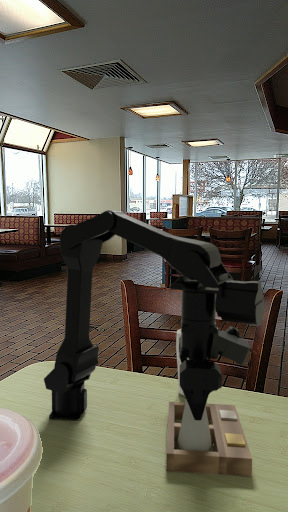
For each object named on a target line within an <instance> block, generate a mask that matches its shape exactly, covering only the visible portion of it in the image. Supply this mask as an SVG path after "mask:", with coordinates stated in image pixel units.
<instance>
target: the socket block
mask: <svg viewBox="0 0 288 512" xmlns="http://www.w3.org/2000/svg"><path fill="white" fill-rule="evenodd" d="M185 402H186V401H168V409H167V410H168V411H167V433H166V434H167V435H166V436H167V437H166V438H167V439H166V463H165V464H166V466H165V467H166V468H165V469H166V470H165V471H167V472H178V473H190V474H191V473H193V474H206V475H221V476H222V475H223V476H237V477H250V478H251V477H252V476H253V475H252V474H253V473H252V471H253V457H252V453H251V451H250V447H249V445H248V442H247V438H246V436H245V433H244V429H243V427H242V426H243V425H242V423H241V419H240V417H239V414H238V413H239V412H238V410H237V408H236V405H235V404H225V403H222V404H221V403H206V412H207V418H208V422H209V430H210V436H211V445H213V449H214V451H209V452H208V451H191V450H180V449H175V443H178V437H179V432H180V427H181V422H175V420H182V417H183V412H184V407H185Z"/></svg>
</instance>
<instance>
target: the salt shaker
mask: <svg viewBox="0 0 288 512" xmlns="http://www.w3.org/2000/svg"><path fill="white" fill-rule="evenodd" d="M184 402H185V407H184V412H183V417H182V419H181V422H180V423H181V427H180V432H179V437H178V442H177V444H178V448H179V450H191V451H208V452H211V447H212V444H211V436H210V430H209V425H210V423H209V420H208V418H207V412H206V406H205V409H204V413H203V416H202V420H200V421H199V420H194V417H193V415H192V412H191V410H190V407H189V405H188V402H187V400H186V399H185V401H184Z"/></svg>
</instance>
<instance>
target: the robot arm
mask: <svg viewBox="0 0 288 512" xmlns="http://www.w3.org/2000/svg"><path fill="white" fill-rule="evenodd" d="M59 234H60V235H59V248H60V256H61V259H62V261H63V262H64V265H65V267H66V269H67V274H66V275H67V281H66V298H65V299H66V301H65V302H66V303H65V321H64V339H63V340H62V342H61V344H60V346H59V348H58V349H57V352H56V355H55V356H56V357H55V360H54V361H55V362H54V366H53V367H54V368H53V369H52V370H51V371H50V372H48V374H47V375H46V376H45V377H44V378H43V382H44V386H45V389H46V390H49V391H51V412H50V413H49V415H48V417H49V418H48V419H53V420H67V421H68V420H71V421H79V420H81V418H82V416H83V414H84V413H85V412H86V410H87V407H88V389H87V388H85V381H89V380H90V378H91V375H92V373H93V372H94V371H95V370H96V368H97V366H98V365H99V364H100V363H99V360H98V359H99V357H98V355H99V350H100V349H99V348H100V347H99V346H98V345H94V344H93V343H92V341H91V338H90V323H91V307H92V306H91V303H92V288H93V287H92V285H93V284H92V283H93V270H94V268H95V266H96V263H97V262H98V260H99V259H100V256H101V252H102V247H103V244H105V243H106V242H108V241H110V240H112V239H113V238H114V237H115V236H117V237H119V238H122V239H124V240H125V241H128V242H130V243H133V244H135V245H136V246H138V247H141V248H142V249H145V250H147V251H149V252H151V253H153V254H155V255H157V256H159V257H161V258H163V260H165V262H166V263H167V264H168V265H169V266H170V267H171V268H172V269H174V270H175V271H176V272H178V273H179V274H181V275H179V276H178V277H177V278H176V280H175V281H174V282H173V283H171V284H169V289H170V290H176V291H181V315H180V317H181V319H180V329H181V337H180V338H179V357H180V360H181V363H182V364H181V365H180V371H179V382H180V387H181V389H182V391H183V393H184V395H185V396H184V398H185V401H186V400H187V402H188V405H189V407H190V410H191V412H192V415H193V417H194V420H199V421H200V420H202V416H203V413H204V409H205V406H206V404H207V402H208V398H209V396H210V394H211V393H212V392H214V391H215V392H217V391H218V390H220V389H222V386H223V374H222V371H221V368H220V366H219V365H218V364H217V363H216V362H215V361H214V360H219V356H221V357H223V358H225V359H228V360H230V361H233V362H235V364H237V365H239V366H244V364H245V363H246V360H247V358H248V355H249V353H250V350H251V346H250V344H249V342H248V341H247V340H246V339H244V338H243V337H240V331H239V329H238V328H236V327H233V326H231V325H230V326H229V327H227V328H226V329H225V330H224V329H223V330H219V327H217V322H216V317H218V318H221V320H222V321H223V322H230V323H235V324H243V325H250V326H257V327H259V326H260V325H261V324H262V323H263V322H262V321H263V316H264V313H265V300H264V294H263V290H262V282H261V281H257V280H250V281H244V280H243V281H242V280H234V278H233V277H232V275H231V274H230V272H229V270H228V269H227V268H226V266H225V265H224V263H223V261H222V259H221V257H222V256H221V254H220V251H219V248H218V247H217V246H216V245H215V244H213V243H211V242H208V241H202V240H198V239H193V238H187V237H181V236H177V235H173V234H171V233H169V232H166V231H164V230H161V229H159V228H157V227H155V226H153V225H150V224H148V223H145V222H143V221H141V220H139V219H137V218H135V217H133V216H129V215H127V214H126V213H125V212H123V211H120V210H109V209H108V210H105V211H103V212H101V213H100V214H98V215H96V216H94V217H90V218H88V219H85V220H83V221H80V222H78V223H77V224H68V225H67V226H65V227H64V229H63V230H61V231H60V233H59ZM179 382H178V383H179Z"/></svg>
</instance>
